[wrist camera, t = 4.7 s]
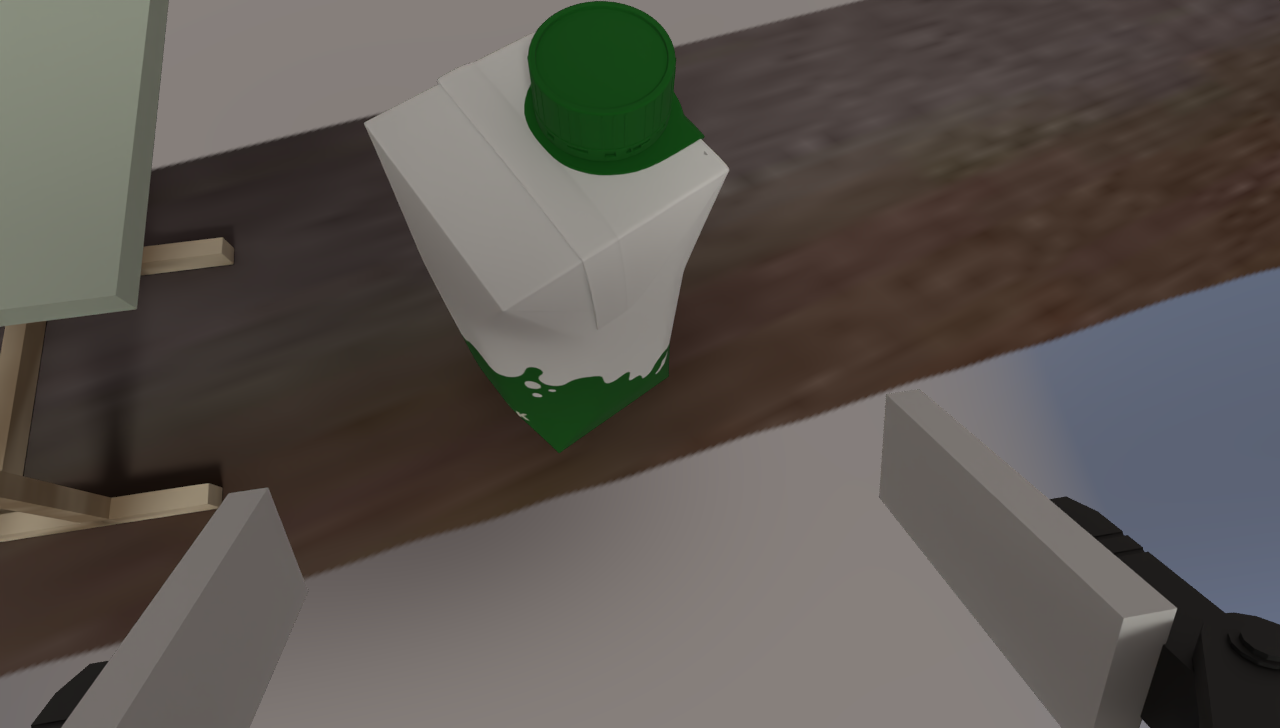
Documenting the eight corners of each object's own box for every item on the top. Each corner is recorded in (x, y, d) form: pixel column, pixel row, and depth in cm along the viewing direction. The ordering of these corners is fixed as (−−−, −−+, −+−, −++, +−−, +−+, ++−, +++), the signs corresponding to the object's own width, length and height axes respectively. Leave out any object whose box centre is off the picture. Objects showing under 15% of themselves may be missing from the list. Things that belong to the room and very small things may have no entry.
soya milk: (692, 380, 36) (776, 123, 17) (551, 480, 34) (475, 308, 15) (597, 262, 38) (580, -75, 20) (459, 349, 36) (295, 61, 18)
